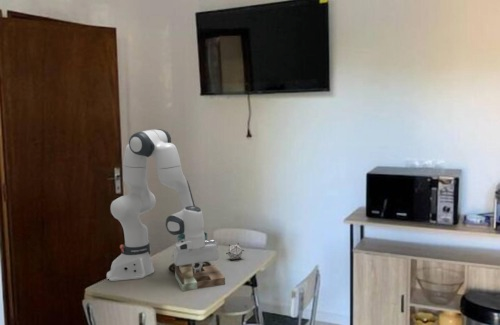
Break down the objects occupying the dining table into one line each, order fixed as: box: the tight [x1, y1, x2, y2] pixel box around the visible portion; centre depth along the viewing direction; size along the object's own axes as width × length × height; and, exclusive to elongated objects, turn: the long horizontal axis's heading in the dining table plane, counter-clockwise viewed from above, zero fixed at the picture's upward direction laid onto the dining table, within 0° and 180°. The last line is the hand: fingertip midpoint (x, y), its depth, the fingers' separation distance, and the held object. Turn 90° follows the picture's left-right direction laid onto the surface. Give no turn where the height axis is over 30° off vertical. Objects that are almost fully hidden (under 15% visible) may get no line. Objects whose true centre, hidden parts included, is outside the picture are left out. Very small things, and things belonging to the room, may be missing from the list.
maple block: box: [178, 264, 193, 279], centre depth 226 cm, size 5×5×5 cm
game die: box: [225, 242, 245, 262], centre depth 256 cm, size 9×8×10 cm
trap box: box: [173, 264, 226, 292], centre depth 228 cm, size 19×19×6 cm
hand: (197, 272), depth 228 cm, fingers closed
